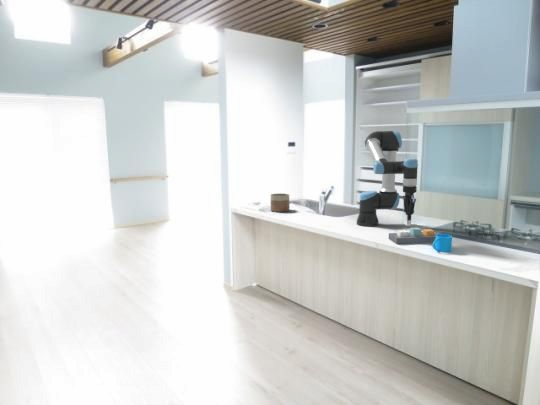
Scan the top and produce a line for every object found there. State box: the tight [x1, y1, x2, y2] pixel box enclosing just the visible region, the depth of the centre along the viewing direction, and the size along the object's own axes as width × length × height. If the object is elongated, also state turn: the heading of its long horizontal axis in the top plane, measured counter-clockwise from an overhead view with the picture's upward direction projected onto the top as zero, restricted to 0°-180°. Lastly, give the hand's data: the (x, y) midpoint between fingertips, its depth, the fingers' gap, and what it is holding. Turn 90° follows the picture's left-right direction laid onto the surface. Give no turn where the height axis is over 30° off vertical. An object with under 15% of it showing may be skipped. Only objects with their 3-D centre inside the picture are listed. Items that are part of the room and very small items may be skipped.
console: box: [388, 231, 438, 245], centre depth 236 cm, size 12×28×4 cm, turn 95°
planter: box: [270, 192, 290, 213], centre depth 336 cm, size 16×16×14 cm
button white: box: [396, 229, 409, 237], centre depth 235 cm, size 5×5×4 cm
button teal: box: [409, 227, 423, 236], centre depth 235 cm, size 5×5×4 cm
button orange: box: [422, 228, 435, 236], centre depth 236 cm, size 5×5×4 cm
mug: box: [432, 233, 453, 253], centre depth 214 cm, size 12×8×8 cm
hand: (408, 225), depth 234 cm, fingers closed
